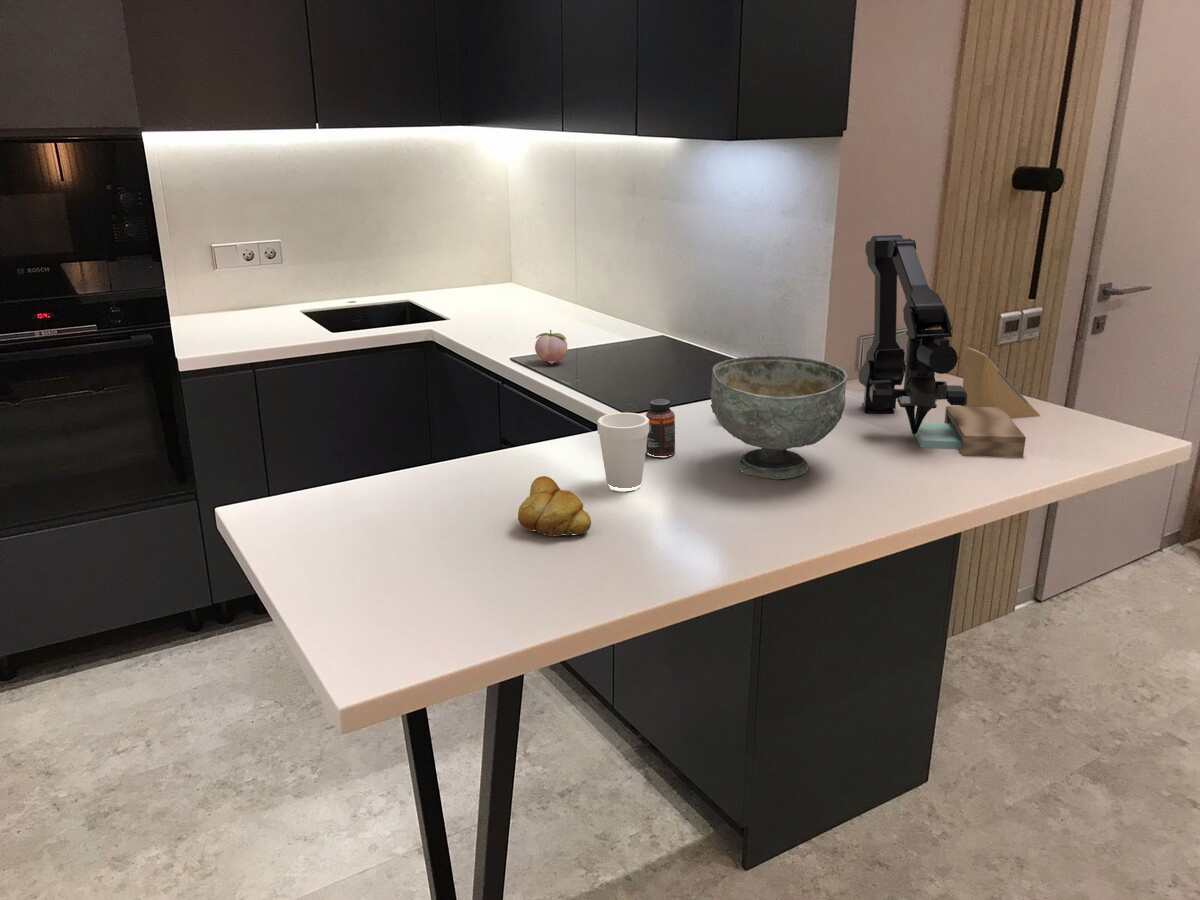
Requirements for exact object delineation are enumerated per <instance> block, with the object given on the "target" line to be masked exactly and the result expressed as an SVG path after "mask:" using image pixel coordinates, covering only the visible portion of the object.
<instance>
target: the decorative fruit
mask: <svg viewBox="0 0 1200 900" xmlns="http://www.w3.org/2000/svg"><path fill="white" fill-rule="evenodd" d="M535 339H536V341H535V345H534V351H535V353H536V355H537V357H539V359H541V360H542V361H543V360H544V361H543V362H545V361H559V362H560V361H562V360H563V359H564V358H565V357H566V355H567V352H568V342H567V338H566V336H565V335H564V334H563V333H559V332H557V333H556V332H555V333H554V332H552V329H549V332H542V333H539V334H537V335H536V337H535Z"/></svg>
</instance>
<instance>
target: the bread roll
mask: <svg viewBox="0 0 1200 900" xmlns="http://www.w3.org/2000/svg"><path fill="white" fill-rule="evenodd" d="M517 512H518V513H517V516H518V517H517V520H518V522H519V524H520V526H521V527H522V528H523V529H525V530H526V529H527V531H529V530H532V532H534V531H533V530H536V531H535V532H537V533H538V532H539V533H538V534H540V533H542V534H541V535H543V534H545V535H544V536H547V535H549V536H548V537H555V536H554V535H560V536H562V534H566V535H565V536H569V535H572V534H580V535H582V533H583V534H585V533H587V532H588V531H589V530H590V528H591V525H592V520H591V516H590V513H589V512H587V511H585V510H584V503H583V502H582V500H581V499H580V497H578V495H576V494H575V493H574V492H572V491H570V490H566V489H561V488H560V487H559V485H558V484H557V483H556V482H555V480H554V479H552V478H551V477H549V476H546V475H543V476H542V475H541V476H539V477H536V478H535V479H534V480H533V481H532V482H531V485H530V490H529V496H528V497H526V498H525V500H524V501H523V502H522V503H521V504H520V505H519V508H518V511H517Z"/></svg>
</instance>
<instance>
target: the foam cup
mask: <svg viewBox="0 0 1200 900" xmlns="http://www.w3.org/2000/svg"><path fill="white" fill-rule="evenodd" d="M648 433H649V419H648V418H647V417H646V415H643V414H641V413H634V412H615V413H609V414H605V415H603V416H599V418H598V420H597V434H598V436H599V442H600V448H601V453H602V455H601V456H602V461H603V467H604V473H605V480H606V484H607V483H608V484H609V485H611V486H613V487H618V488H632V487H636V486H638V485H640V484H641V485H642V483H643V474H644V466H645V460H646V453H647V452H646V444H647V437H648ZM641 482H642V483H641ZM608 484H607V485H608Z"/></svg>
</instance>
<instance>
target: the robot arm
mask: <svg viewBox="0 0 1200 900" xmlns="http://www.w3.org/2000/svg"><path fill="white" fill-rule="evenodd" d="M864 252H865V256H866V257H867V258H866V259H867V266H868V267H869V269H870V270H871V272H872V274H873V276H874V317H873V318H874V320H873V321H874V325H873V327H874V328H873V335H874V336H873V342H872V344H871V345H870V347H869V349H868V350H867V352H866V357H865V361H864V363H863V365H862V366H861V368H860V370H859V372H858V382H859V384H861V385H862V386H864V394H863V402H862V408H863V411H864V413H872V414H873V413H874V414H876V413H877V414H895V409H896V407H897V403H898V405H899V407H900V408H904V410H905V413H906V415H907V420H908V423H909V424H908V425H909V428H910V432H911V434H912V435H915V434H916V433H917V431H918V429H919V427H920V425H921V423H923V420H924V419H925V418H926V415H927V414H928V413H929V412H930V411H931V410H932V409H937V407H938V405H937V401H938V400H939V401H941V400H946V402H947V403H949V406H961V405H962V406H964V405H967V393H966V391H965V390H964V389H963V385H955V384H953V385H949V384H948V383H947V381H946V380H945V381H943V380H941V381H940V380H939V381H937V380H936V378H935V374H937V375H938V374H940V375H945V374H947V373H949V372H951V371H952V370H954V368H955V367H956V365H957V363H958V359H959V357H958V354H957V351H956V349H955V348H954V347H952V346H950V341H951V340H950V339H949V338H951V337H953V336H952V330H953V325H952V323H951V320H950V316H949V313H948V309H947V308H946V305H945V304H944V302H943V300H942V298H941V296H940V295H939V293H937V292H936V291H934V290H933V289H931V288H930V286H929V284H928V280H927V278H926V275H925V272H924V269H923V267H922V264H921V261H920V259H919V255H918V254H917V243H916V241H915V240H914V239H911V238H903V236H902V234H885V235H884V234H883V235H882V234H881V235H872V236H871V238H870V240H868V241H866V243H865V250H864ZM898 280H899V282H900V285H901V288H902V292H903V294H904V297H905V303H904V306H903V308H902V312H903V321H904V324H905V327H906V329H907V331H906V332H905V335H906V336H907V337H908V339H907V349H906V353H905V350H904V348H901V347H900V345H899V343H898V341H897V319H898V318H897V313H898V311H897V309H898V306H897V305H898ZM905 354H906V361H905ZM902 384H903V388H896V387H895V386H902ZM915 410H916V411H915Z"/></svg>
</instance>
